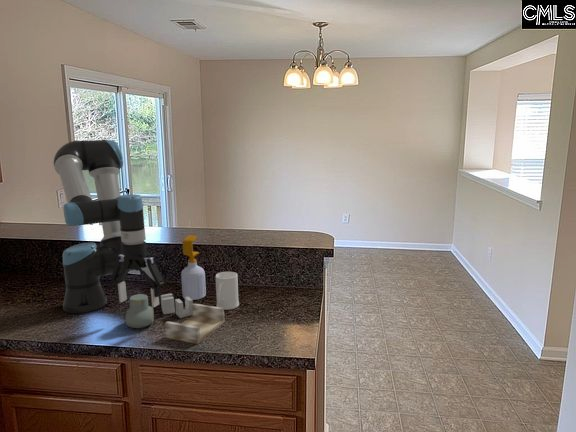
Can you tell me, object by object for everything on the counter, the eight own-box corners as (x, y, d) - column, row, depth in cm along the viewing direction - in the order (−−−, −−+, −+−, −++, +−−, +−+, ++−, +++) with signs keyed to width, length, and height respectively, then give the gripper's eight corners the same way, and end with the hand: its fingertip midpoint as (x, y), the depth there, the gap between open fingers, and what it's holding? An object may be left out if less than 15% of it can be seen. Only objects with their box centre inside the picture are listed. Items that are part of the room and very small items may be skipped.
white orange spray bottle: (210, 293, 175) (207, 234, 170) (198, 301, 167) (194, 239, 162) (190, 290, 178) (187, 232, 173) (178, 299, 170) (174, 238, 165)
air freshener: (130, 319, 152) (127, 292, 150) (154, 316, 154) (152, 290, 152) (125, 333, 142) (123, 304, 140) (152, 330, 144) (149, 301, 142)
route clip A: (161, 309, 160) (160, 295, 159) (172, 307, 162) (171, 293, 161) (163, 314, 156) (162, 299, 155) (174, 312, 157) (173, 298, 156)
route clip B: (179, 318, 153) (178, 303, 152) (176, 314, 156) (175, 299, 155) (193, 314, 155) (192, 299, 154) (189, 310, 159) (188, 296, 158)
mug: (228, 314, 155) (226, 283, 153) (207, 311, 158) (205, 280, 156) (243, 302, 166) (242, 272, 163) (223, 299, 169) (222, 270, 166)
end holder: (165, 337, 139) (164, 323, 138) (195, 316, 154) (194, 303, 153) (197, 344, 134) (196, 329, 133) (225, 321, 150) (224, 307, 149)
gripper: (95, 242, 143) (102, 302, 147) (157, 247, 134) (162, 312, 138) (112, 237, 150) (118, 295, 154) (172, 241, 141) (176, 303, 145)
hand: (139, 303), depth 146 cm, fingers open, 13 cm apart
